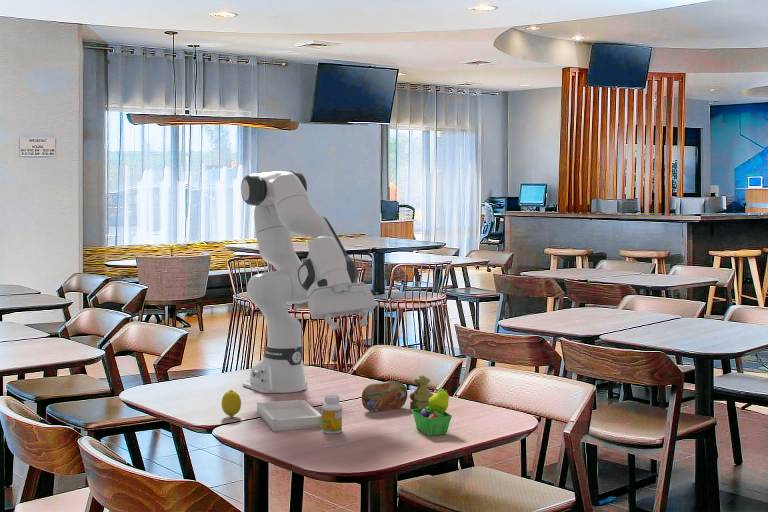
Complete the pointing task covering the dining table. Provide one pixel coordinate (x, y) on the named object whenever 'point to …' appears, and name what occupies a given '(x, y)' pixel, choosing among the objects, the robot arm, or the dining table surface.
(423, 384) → the olive brown figurine
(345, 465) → the dining table surface
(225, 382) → the dining table surface
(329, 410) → the supplement bottle
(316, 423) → the tray
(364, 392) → the tin
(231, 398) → the lemon
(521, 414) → the dining table surface
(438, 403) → the fruit basket
